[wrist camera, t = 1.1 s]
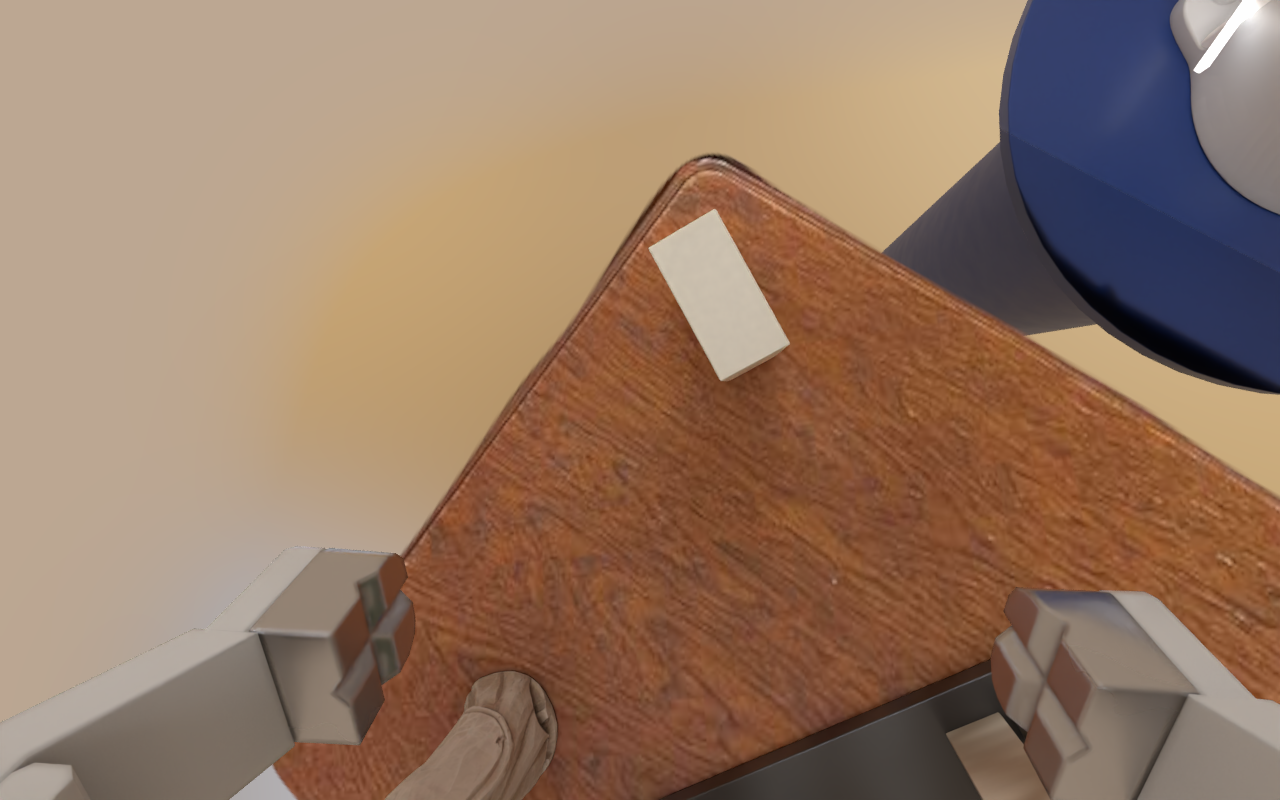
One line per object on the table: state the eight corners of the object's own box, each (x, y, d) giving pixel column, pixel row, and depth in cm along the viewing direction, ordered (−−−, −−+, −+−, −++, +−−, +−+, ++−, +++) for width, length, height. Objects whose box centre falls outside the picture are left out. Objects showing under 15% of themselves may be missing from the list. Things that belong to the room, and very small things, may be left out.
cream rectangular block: (725, 265, 36) (715, 207, 24) (775, 356, 35) (790, 344, 24) (679, 291, 36) (647, 247, 24) (728, 381, 36) (720, 381, 24)
